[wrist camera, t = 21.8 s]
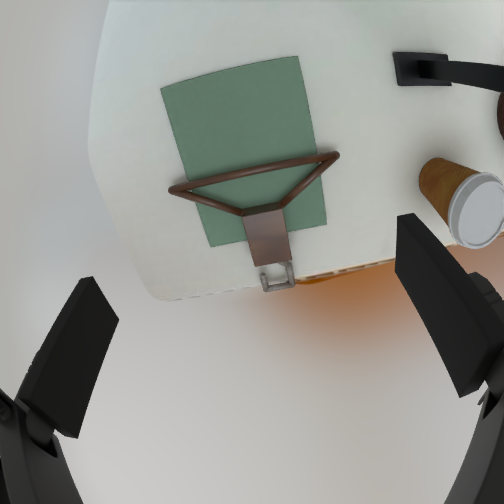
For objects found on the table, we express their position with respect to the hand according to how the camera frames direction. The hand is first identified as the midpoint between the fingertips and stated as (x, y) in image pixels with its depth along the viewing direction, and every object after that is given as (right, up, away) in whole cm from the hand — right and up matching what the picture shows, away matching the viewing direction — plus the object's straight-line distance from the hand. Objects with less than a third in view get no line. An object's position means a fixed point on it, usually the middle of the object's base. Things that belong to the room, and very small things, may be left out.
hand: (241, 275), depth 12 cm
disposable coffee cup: (+27, +11, +25) cm, 38 cm away
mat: (0, +12, +23) cm, 27 cm away
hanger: (0, +11, +22) cm, 25 cm away
